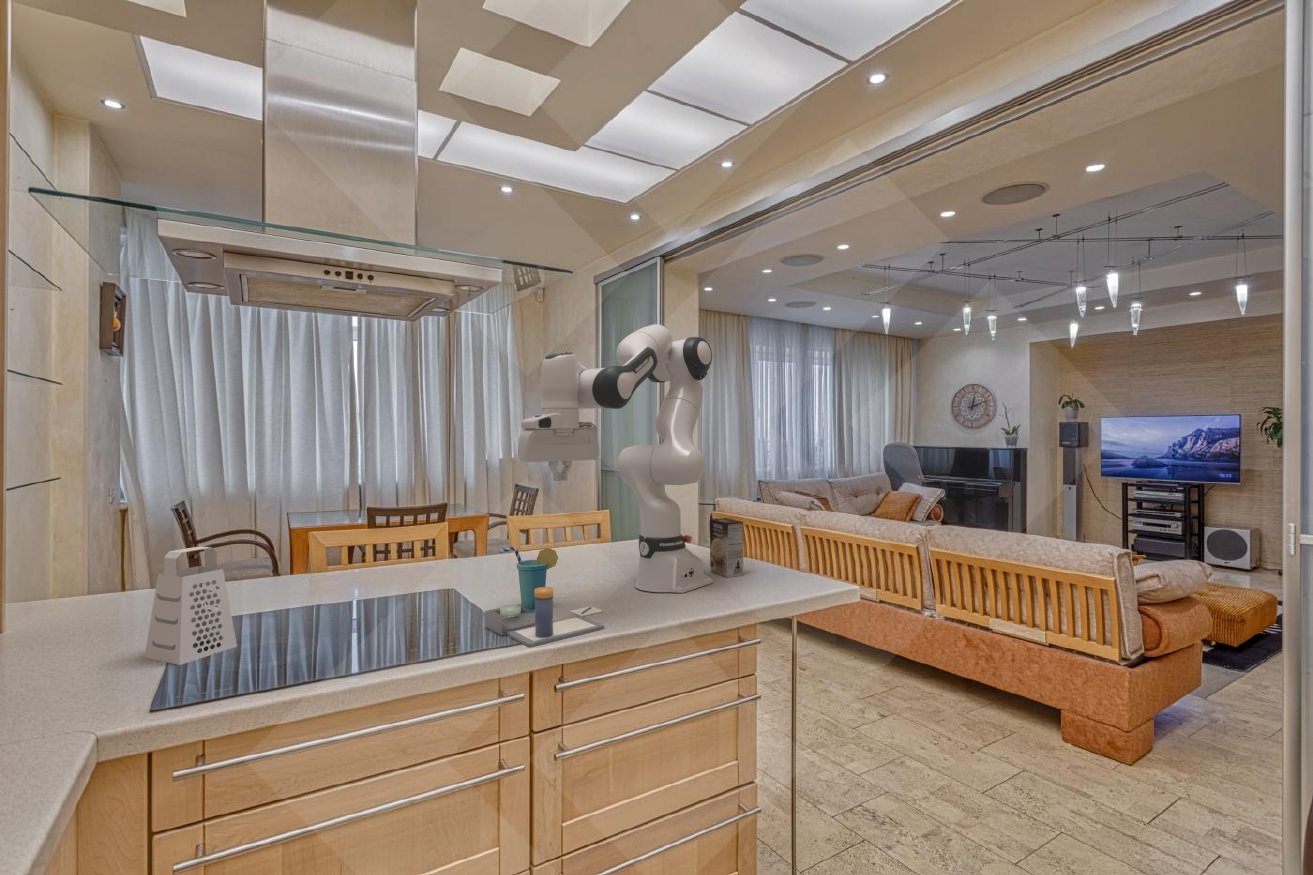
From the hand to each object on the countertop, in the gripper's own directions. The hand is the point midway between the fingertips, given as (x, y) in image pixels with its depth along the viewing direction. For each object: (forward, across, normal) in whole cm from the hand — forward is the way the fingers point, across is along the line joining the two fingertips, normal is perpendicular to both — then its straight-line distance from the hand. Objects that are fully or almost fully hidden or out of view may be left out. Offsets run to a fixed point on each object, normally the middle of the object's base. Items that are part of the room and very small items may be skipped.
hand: (560, 480), depth 145 cm
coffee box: (+31, -59, -3) cm, 67 cm away
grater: (+31, +68, -25) cm, 79 cm away
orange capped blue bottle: (+30, +12, +13) cm, 35 cm away
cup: (+31, +3, -10) cm, 33 cm away
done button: (+31, +14, +2) cm, 34 cm away
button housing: (+31, +14, +2) cm, 34 cm away
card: (+31, -5, +3) cm, 32 cm away
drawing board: (+31, +8, +11) cm, 34 cm away
